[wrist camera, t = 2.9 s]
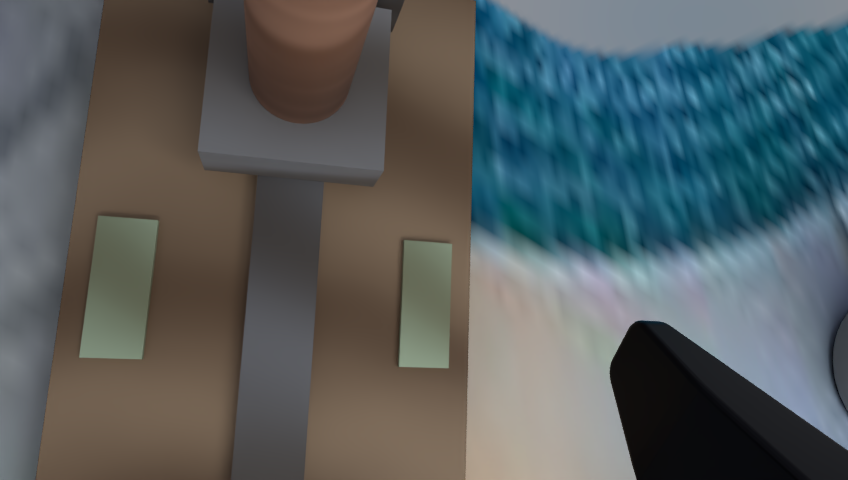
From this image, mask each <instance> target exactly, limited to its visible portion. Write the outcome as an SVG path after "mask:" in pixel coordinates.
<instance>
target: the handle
mask: <svg viewBox="0 0 848 480" xmlns="http://www.w3.org/2000/svg"><path fill="white" fill-rule="evenodd" d="M377 2H378V0H214V3H213V13H212V22H211V31H210V41H209V50H208V59H207V69H206V78H205V87H204V97H203V106H202V115H201V125H200V134H199V143H198V153H199V156H200V159H201V162H202V165H203V167H204V170H210V171H220V172H230V173H240V174H250V175H260V176H270V177H280V178H290V179H300V180H310V181H320V182H330V183H340V184H350V185H360V186H370V187H373V186H374V185H375V183H376V182H377V180H378V179H379V177H380V176H381V174H382V173H383V171H384V156H385V136H386V115H387V95H388V74H389V54H390V34H391V13H392V10H389V9H383V8H377V7H376V5H377Z"/></svg>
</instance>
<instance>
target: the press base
mask: <svg viewBox="0 0 848 480" xmlns="http://www.w3.org/2000/svg"><path fill="white" fill-rule="evenodd" d="M213 3H214V0H104V5H103V12H102V19H101V26H100V33H99V40H98V47H97V54H96V61H95V68H94V75H93V82H92V88H91V95H90V102H89V109H88V116H87V123H86V130H85V137H84V144H83V151H82V158H81V165H80V172H79V179H78V186H77V193H76V200H75V207H74V214H73V221H72V228H71V235H70V242H69V249H68V256H67V263H66V270H65V277H64V284H63V291H62V298H61V305H60V312H59V319H58V326H57V333H56V340H55V347H54V354H53V361H52V368H51V375H50V382H49V389H48V396H47V403H46V410H45V417H44V424H43V431H42V438H41V445H40V452H39V459H38V466H37V473H36V480H465V469H466V424H467V378H468V332H469V286H470V240H471V194H472V148H473V102H474V56H475V11H476V1H474V0H378V2H377V5H376V7H377V8H383V9H389V10H392V13H391V34H390V54H389V74H388V95H387V115H386V136H385V156H384V171H383V173H382V174H381V176H380V177H379V179H378V180H377V182H376V183H375V185H374V186H373V187H370V186H360V185H350V184H340V183H330V182H320V181H310V180H300V179H290V178H280V177H270V176H260V175H250V174H240V173H230V172H220V171H210V170H204V167H203V165H202V162H201V159H200V156H199V153H198V143H199V134H200V125H201V115H202V106H203V97H204V87H205V78H206V69H207V59H208V50H209V41H210V31H211V22H212V13H213Z"/></svg>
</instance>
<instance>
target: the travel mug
mask: <svg viewBox="0 0 848 480" xmlns="http://www.w3.org/2000/svg"><path fill="white" fill-rule="evenodd" d="M833 368H834V376H835V381H836V385H837V388H838V391H839V395H840V397H841V399H842V401H843V403H844V405H845V407H846V409H847V411H848V313H847V315H846V316H845V318H844V319H843V321H842V322H841V324H840V327H839V329H838V332H837V335H836V338H835V344H834V349H833Z"/></svg>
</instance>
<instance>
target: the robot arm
mask: <svg viewBox="0 0 848 480" xmlns="http://www.w3.org/2000/svg"><path fill="white" fill-rule="evenodd" d="M610 380H611V384H612V388H613V392H614V396H615V400H616V403H617V407H618V411H619V415H620V419H621V423H622V427H623V431H624V434H625V438H626V442H627V446H628V450H629V454H630V458H631V461H632V465H633V469H634V472H635V476H636V479H637V480H848V450H846V449H845V448H843V447H842V446H841V445H839V444H838V443H836V442H835V441H833V440H832V439H831V438H829V437H828V436H826V435H825V434H824V433H822V432H821V431H819V430H818V429H816V428H815V427H814V426H812V425H811V424H809V423H808V422H806V421H805V420H804V419H802V418H801V417H799V416H798V415H796V414H795V413H794V412H792V411H791V410H789V409H788V408H786V407H785V406H784V405H782V404H781V403H779V402H778V401H777V400H775V399H774V398H772V397H771V396H769V395H768V394H767V393H765V392H764V391H762V390H761V389H759V388H758V387H757V386H755V385H754V384H752V383H751V382H749V381H748V380H747V379H745V378H744V377H742V376H741V375H739V374H738V373H737V372H735V371H734V370H732V369H731V368H729V367H728V366H727V365H725V364H724V363H722V362H721V361H720V360H718V359H717V358H715V357H714V356H712V355H711V354H710V353H708V352H707V351H705V350H704V349H702V348H701V347H700V346H698V345H697V344H695V343H694V342H692V341H691V340H690V339H688V338H687V337H685V336H684V335H682V334H681V333H680V332H678V331H677V330H675V329H674V328H673V327H671V326H670V325H668V324H666V323H664V322H658V321H636V322H635V323H633V324H632V325H631V326H630V327H629V329H628V331H627V333H626V335H625V337H624V339H623V340H622V342H621V344H620V346H619V348H618V350H617V352H616V354H615V356H614V357H613V359H612V362H611V366H610Z"/></svg>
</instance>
